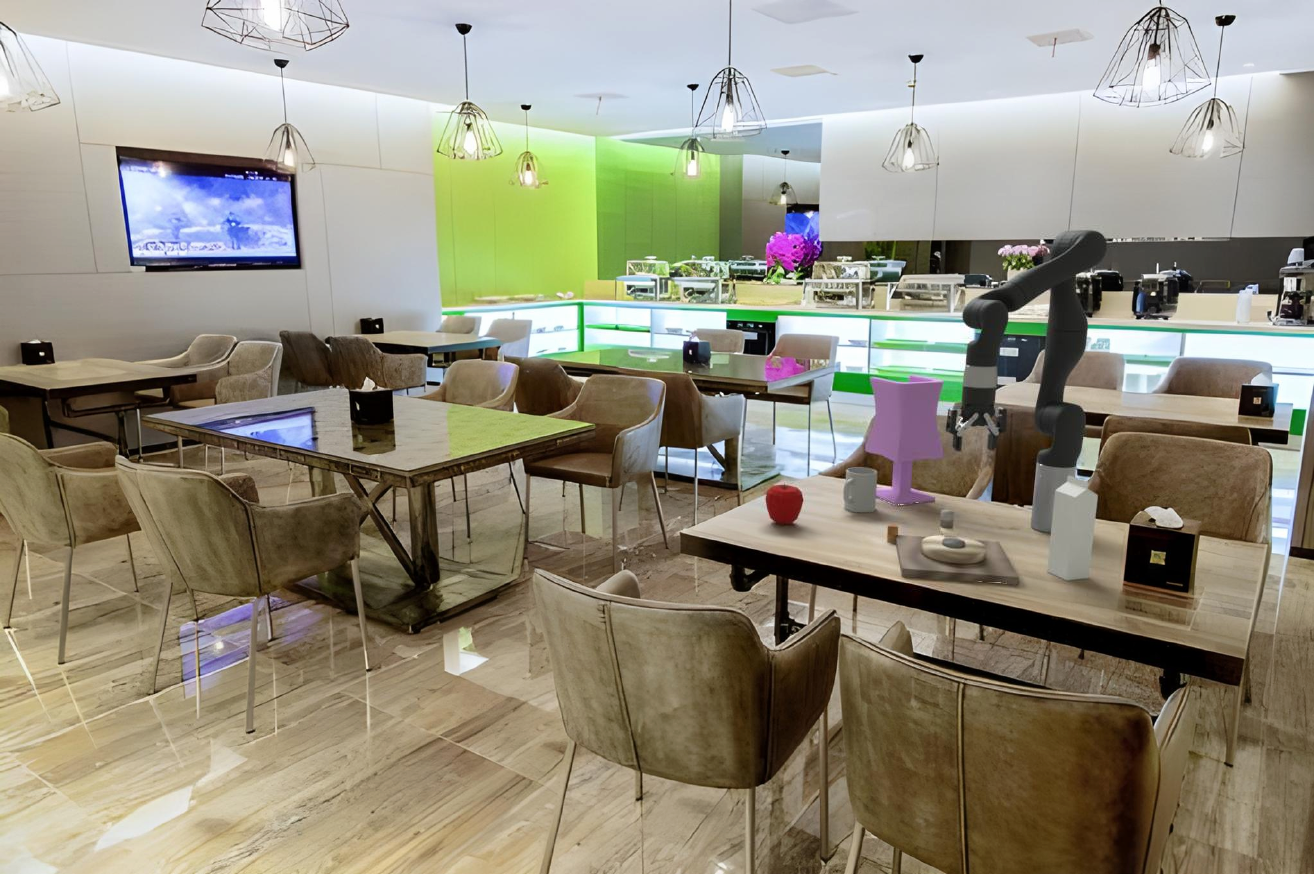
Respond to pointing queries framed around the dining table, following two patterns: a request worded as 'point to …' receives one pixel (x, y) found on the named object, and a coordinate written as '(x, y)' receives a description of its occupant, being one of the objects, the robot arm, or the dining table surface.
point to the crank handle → (952, 544)
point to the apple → (784, 503)
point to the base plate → (922, 566)
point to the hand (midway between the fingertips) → (974, 450)
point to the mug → (860, 489)
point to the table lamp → (905, 431)
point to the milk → (1072, 530)
